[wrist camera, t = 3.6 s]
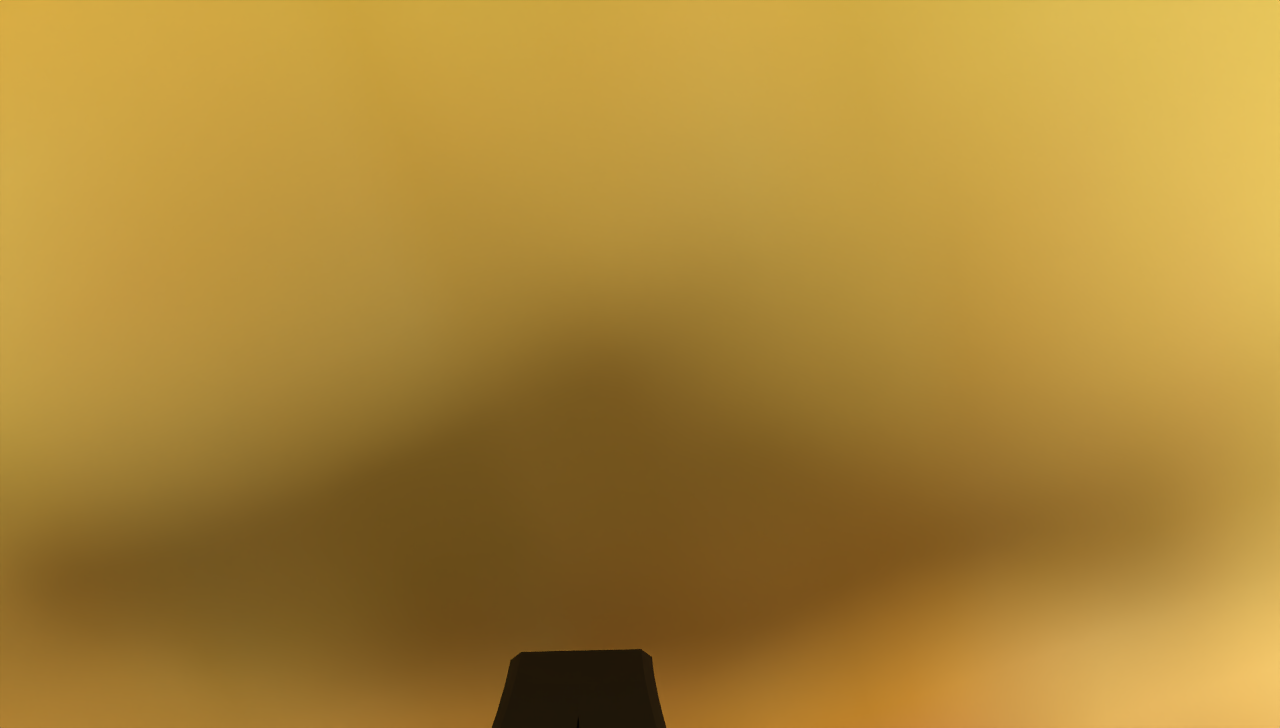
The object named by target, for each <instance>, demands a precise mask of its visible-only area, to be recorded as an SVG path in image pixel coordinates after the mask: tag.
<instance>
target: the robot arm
mask: <svg viewBox="0 0 1280 728" xmlns="http://www.w3.org/2000/svg"><path fill="white" fill-rule="evenodd" d="M492 728H666V725H665V721H664V718H663V714H662V710H661V706H660V702H659V698H658V693H657V688H656V683H655V678H654V671H653V663H652V657H651V656H650V655H648V654H647V653H646V652H644V651H643V650H642V649H631V650H589V651H547V652H521V653H519V654H518V655H517V656H516V657H514V658H513V659H512V660H511V661H510V666H509V670H508V675H507V679H506V683H505V687H504V690H503V694H502V697H501V701H500V704H499V707H498V711H497V714H496V717H495V720H494V723H493V726H492Z"/></svg>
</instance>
